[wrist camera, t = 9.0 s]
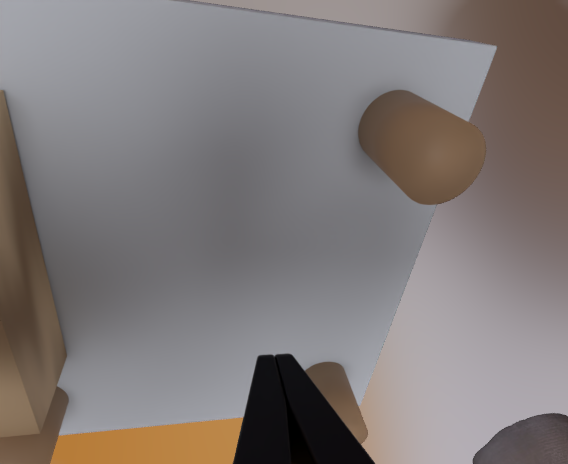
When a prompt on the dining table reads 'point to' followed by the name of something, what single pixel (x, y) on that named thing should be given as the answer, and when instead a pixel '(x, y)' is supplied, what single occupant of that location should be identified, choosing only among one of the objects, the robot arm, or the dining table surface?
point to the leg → (23, 303)
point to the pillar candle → (529, 442)
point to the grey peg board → (225, 196)
